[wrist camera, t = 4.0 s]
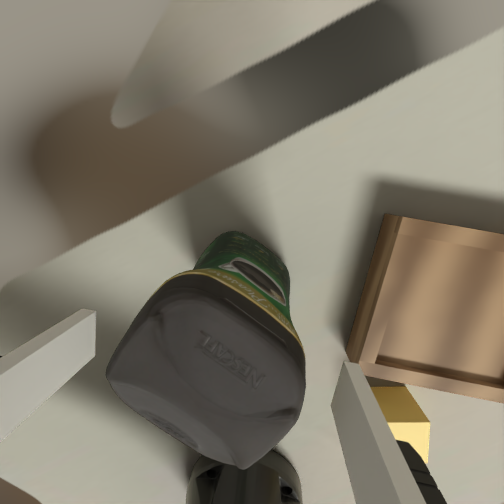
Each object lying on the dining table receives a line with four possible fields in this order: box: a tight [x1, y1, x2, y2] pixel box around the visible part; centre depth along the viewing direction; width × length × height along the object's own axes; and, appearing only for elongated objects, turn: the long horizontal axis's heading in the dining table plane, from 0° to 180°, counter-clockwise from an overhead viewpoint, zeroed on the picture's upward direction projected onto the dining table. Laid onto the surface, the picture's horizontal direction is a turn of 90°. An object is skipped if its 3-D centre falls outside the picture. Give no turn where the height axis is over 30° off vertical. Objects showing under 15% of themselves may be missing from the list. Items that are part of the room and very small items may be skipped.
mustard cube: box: [370, 386, 430, 463], centre depth 29 cm, size 5×5×5 cm
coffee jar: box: [106, 231, 306, 469], centre depth 20 cm, size 10×8×19 cm
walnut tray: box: [346, 214, 504, 403], centre depth 26 cm, size 16×16×4 cm
